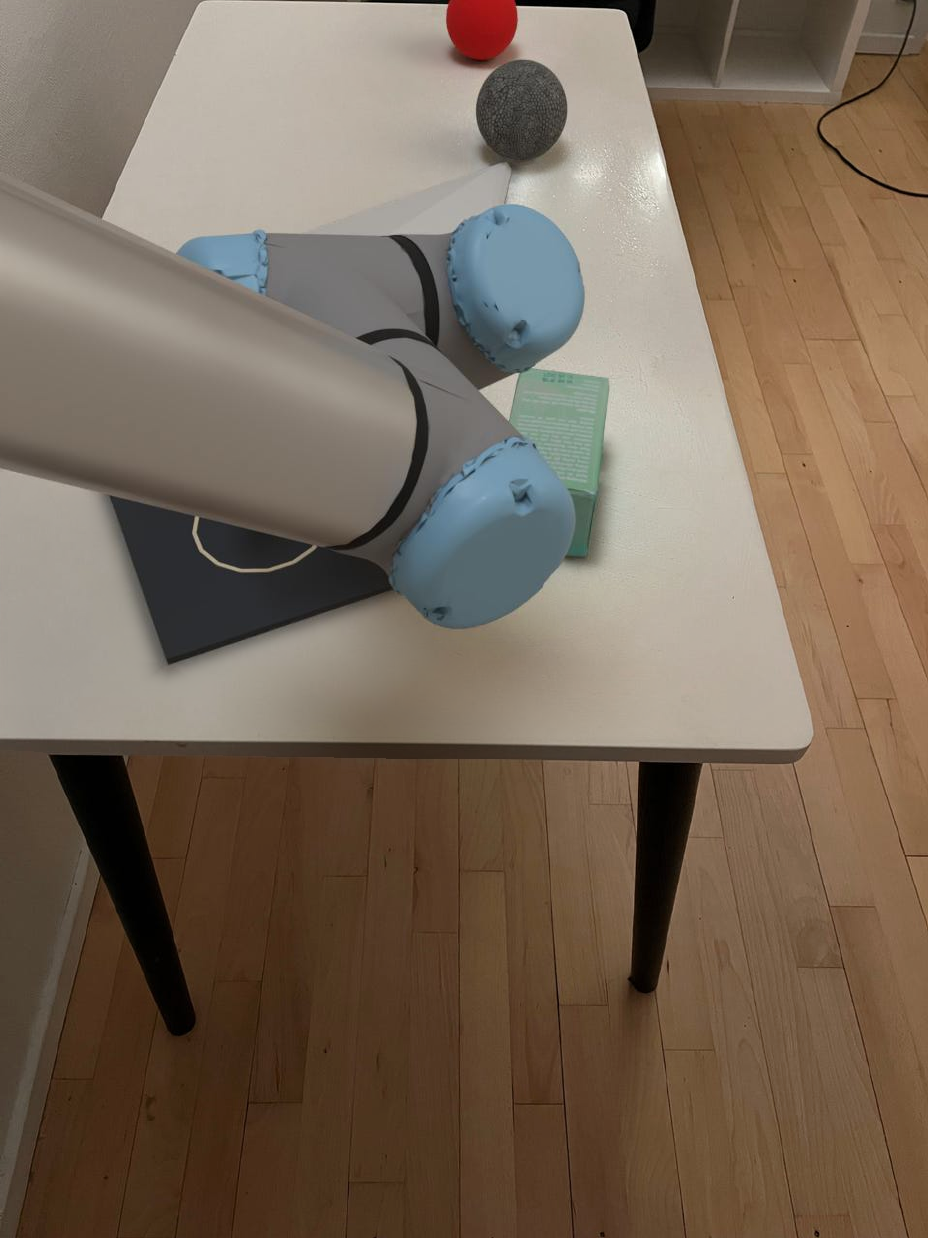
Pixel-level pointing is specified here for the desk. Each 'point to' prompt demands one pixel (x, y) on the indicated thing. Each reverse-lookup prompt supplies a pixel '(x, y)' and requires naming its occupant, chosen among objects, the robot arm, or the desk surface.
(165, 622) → the felt pad
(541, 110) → the decorative ball
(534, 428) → the box
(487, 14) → the ornament
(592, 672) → the desk surface
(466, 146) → the desk surface
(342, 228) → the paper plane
